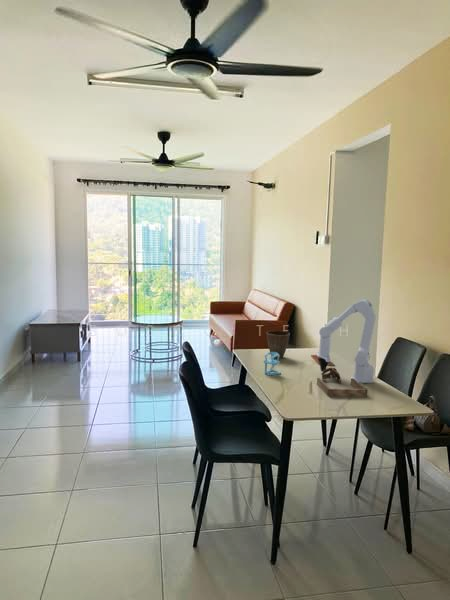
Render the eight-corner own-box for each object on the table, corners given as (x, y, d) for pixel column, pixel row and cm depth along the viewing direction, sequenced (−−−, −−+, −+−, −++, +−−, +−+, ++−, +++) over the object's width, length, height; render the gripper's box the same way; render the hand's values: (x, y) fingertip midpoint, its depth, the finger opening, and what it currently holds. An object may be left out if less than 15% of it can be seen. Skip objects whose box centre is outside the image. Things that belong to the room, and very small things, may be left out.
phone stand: (261, 373, 226) (262, 352, 224) (271, 370, 231) (272, 350, 230) (271, 376, 220) (272, 355, 219) (281, 373, 226) (282, 353, 224)
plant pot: (264, 359, 255) (265, 334, 253) (266, 353, 270) (267, 329, 268) (288, 361, 253) (289, 336, 251) (288, 355, 267) (290, 331, 265)
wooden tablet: (336, 367, 245) (336, 364, 245) (319, 367, 245) (320, 364, 244) (323, 355, 272) (323, 353, 271) (309, 355, 271) (309, 353, 271)
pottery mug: (341, 386, 210) (334, 373, 209) (324, 390, 215) (317, 377, 214) (344, 374, 220) (337, 361, 219) (328, 379, 225) (322, 366, 224)
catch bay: (352, 384, 212) (353, 378, 211) (367, 396, 195) (367, 389, 194) (316, 384, 210) (317, 377, 209) (328, 396, 193) (328, 389, 192)
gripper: (313, 344, 234) (312, 367, 236) (322, 350, 220) (320, 374, 222) (325, 344, 235) (323, 367, 237) (334, 351, 221) (332, 375, 223)
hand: (322, 371), depth 229 cm, fingers closed
